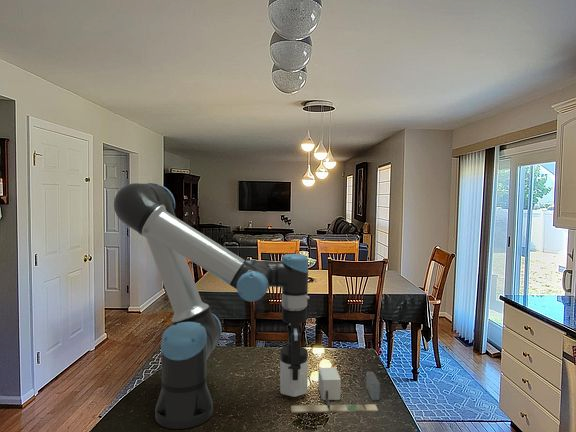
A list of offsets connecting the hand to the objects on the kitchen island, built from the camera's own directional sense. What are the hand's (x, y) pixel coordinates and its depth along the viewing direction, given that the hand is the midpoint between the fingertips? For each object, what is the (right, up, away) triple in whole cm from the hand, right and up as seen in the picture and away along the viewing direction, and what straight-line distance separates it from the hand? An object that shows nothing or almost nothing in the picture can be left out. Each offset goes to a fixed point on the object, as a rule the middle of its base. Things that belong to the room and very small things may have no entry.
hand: (293, 381), depth 124 cm
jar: (0, -3, 0) cm, 3 cm away
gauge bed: (+11, -5, -8) cm, 14 cm away
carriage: (+11, -4, -1) cm, 11 cm away
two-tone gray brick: (+24, -4, +2) cm, 24 cm away
